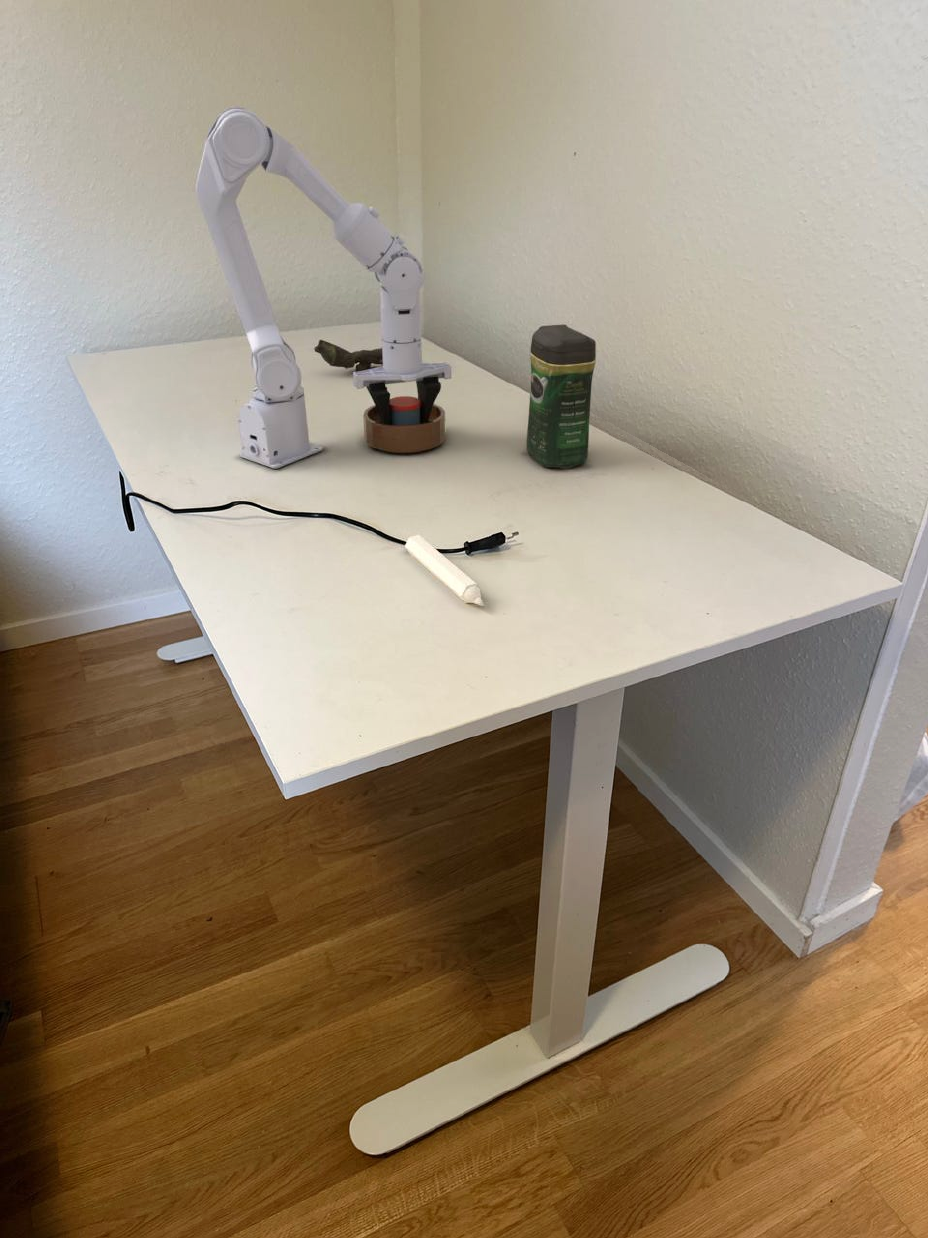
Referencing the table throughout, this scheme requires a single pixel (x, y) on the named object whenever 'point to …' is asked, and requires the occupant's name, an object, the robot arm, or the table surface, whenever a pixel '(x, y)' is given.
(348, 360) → the brown long irregular piece
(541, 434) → the coffee jar
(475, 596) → the marker
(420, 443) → the bowl
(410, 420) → the container
